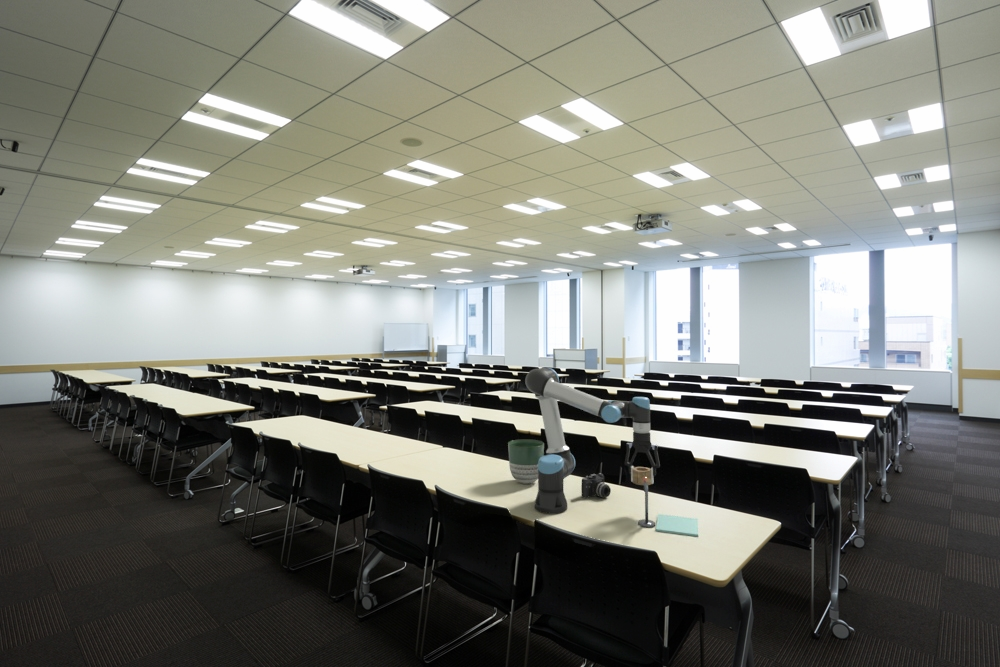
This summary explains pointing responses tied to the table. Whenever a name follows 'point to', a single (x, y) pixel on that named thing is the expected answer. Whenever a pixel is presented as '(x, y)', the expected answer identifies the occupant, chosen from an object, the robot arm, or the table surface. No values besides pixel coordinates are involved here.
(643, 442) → the robot arm
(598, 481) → the camera
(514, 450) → the planter
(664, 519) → the board
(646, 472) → the ring
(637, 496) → the table surface
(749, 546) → the table surface
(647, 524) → the wire post
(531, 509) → the table surface
